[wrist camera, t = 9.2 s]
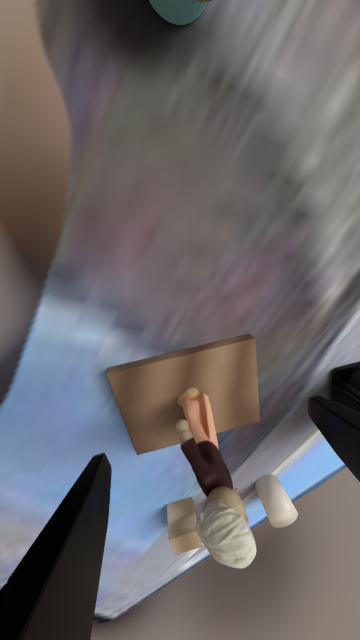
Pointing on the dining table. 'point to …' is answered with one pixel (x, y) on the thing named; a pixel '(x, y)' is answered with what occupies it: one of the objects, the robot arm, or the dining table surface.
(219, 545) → the grandmother figurine
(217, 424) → the walnut board
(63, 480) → the dining table surface
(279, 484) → the off-white cylinder
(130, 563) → the dining table surface
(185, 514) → the beech block
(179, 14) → the cupcake
